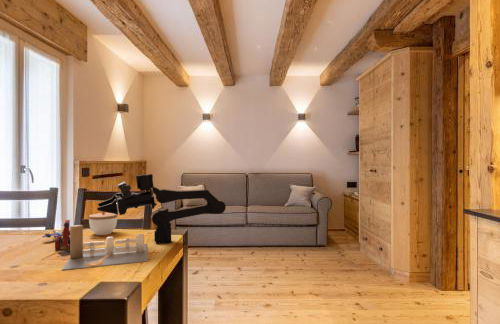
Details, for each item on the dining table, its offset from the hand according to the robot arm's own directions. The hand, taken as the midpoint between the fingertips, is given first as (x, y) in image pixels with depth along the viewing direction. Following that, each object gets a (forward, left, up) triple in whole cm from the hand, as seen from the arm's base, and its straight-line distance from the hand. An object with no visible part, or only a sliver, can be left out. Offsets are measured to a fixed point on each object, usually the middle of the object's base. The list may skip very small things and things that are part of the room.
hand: (97, 206), depth 125 cm
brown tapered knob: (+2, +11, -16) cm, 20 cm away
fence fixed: (-11, +11, -16) cm, 23 cm away
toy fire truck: (+13, -8, -17) cm, 22 cm away
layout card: (-5, +12, -17) cm, 21 cm away
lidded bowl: (+1, -29, -17) cm, 33 cm away
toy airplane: (+19, -24, -17) cm, 34 cm away
